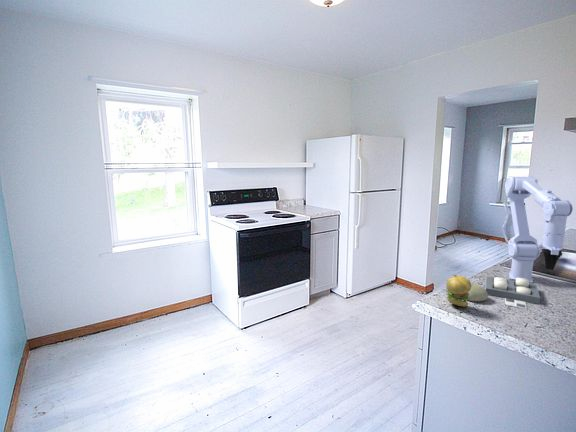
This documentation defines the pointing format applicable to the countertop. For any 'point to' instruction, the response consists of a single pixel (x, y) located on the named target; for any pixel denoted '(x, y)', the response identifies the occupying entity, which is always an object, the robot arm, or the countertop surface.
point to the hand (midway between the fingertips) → (549, 269)
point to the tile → (515, 303)
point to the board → (513, 291)
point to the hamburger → (458, 290)
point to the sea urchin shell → (477, 293)
